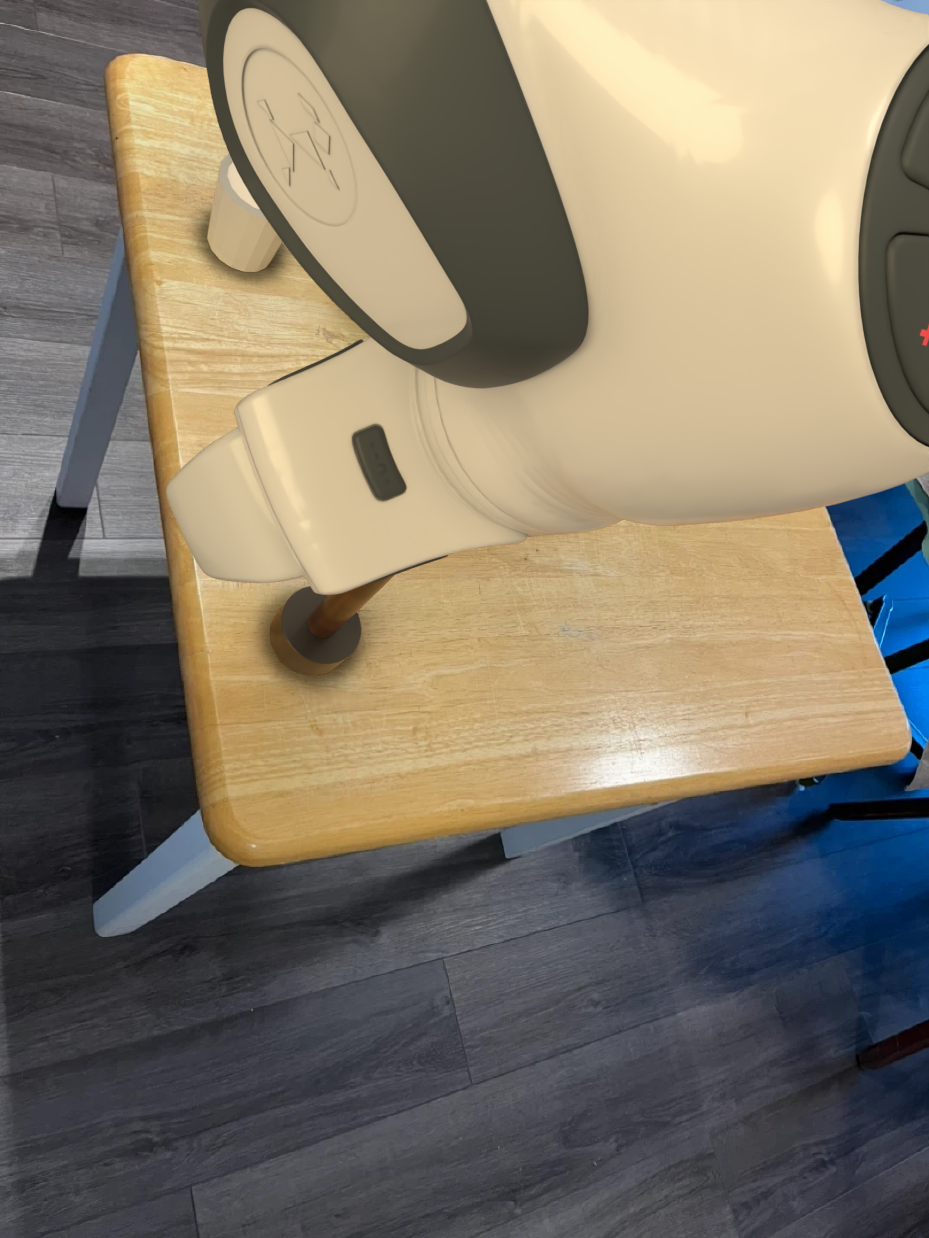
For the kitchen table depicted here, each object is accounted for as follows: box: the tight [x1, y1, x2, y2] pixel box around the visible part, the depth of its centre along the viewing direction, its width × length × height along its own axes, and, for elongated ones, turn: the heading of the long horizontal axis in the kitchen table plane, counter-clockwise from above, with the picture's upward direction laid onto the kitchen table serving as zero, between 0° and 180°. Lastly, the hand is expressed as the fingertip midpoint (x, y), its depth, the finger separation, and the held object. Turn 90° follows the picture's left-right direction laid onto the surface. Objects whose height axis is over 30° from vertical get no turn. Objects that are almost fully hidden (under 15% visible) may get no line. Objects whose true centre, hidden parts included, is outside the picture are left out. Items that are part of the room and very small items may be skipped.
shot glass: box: [206, 153, 283, 273], centre depth 73 cm, size 7×7×7 cm
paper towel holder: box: [269, 575, 395, 677], centre depth 58 cm, size 6×6×18 cm
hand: (360, 455), depth 41 cm, fingers open, 8 cm apart
